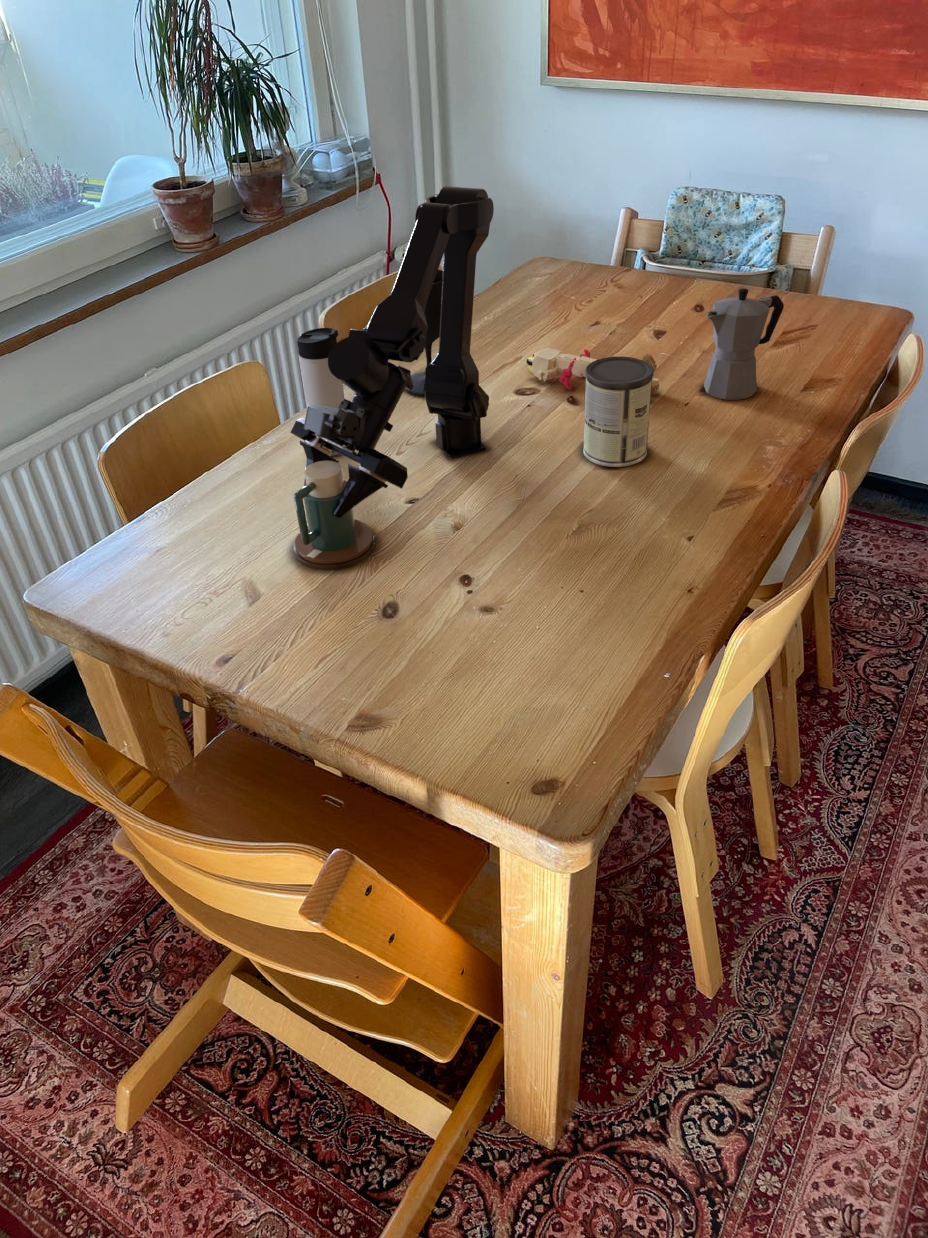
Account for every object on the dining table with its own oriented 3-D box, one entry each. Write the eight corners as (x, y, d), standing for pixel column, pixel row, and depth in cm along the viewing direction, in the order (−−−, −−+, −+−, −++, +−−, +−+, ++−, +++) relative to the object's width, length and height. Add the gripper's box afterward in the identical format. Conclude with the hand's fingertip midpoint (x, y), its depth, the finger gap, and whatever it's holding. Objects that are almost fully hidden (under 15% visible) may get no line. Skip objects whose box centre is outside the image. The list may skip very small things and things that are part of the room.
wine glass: (466, 375, 178) (461, 268, 165) (447, 399, 170) (440, 288, 158) (415, 370, 180) (406, 264, 168) (394, 393, 173) (383, 284, 160)
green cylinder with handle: (327, 514, 139) (316, 443, 132) (388, 532, 134) (380, 460, 127) (276, 553, 131) (261, 480, 124) (339, 574, 126) (327, 500, 119)
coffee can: (594, 433, 157) (597, 352, 148) (654, 443, 153) (661, 360, 145) (573, 461, 150) (575, 377, 141) (636, 472, 146) (642, 387, 137)
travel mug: (345, 457, 154) (330, 339, 142) (307, 455, 155) (289, 337, 143) (357, 440, 159) (343, 324, 147) (320, 437, 160) (303, 322, 148)
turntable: (360, 517, 139) (359, 513, 139) (387, 556, 131) (387, 551, 130) (284, 537, 136) (283, 533, 135) (307, 579, 127) (306, 574, 127)
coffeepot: (713, 407, 162) (727, 304, 151) (683, 387, 169) (693, 287, 158) (787, 389, 167) (805, 287, 156) (754, 370, 174) (769, 271, 162)
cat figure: (661, 393, 170) (539, 359, 180) (669, 347, 165) (542, 315, 174) (640, 415, 164) (514, 379, 173) (647, 368, 158) (517, 333, 168)
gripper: (290, 361, 126) (238, 465, 127) (382, 399, 115) (325, 512, 116) (342, 396, 135) (293, 493, 136) (432, 434, 125) (379, 539, 125)
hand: (320, 508), depth 128 cm, fingers closed on green cylinder with handle, 6 cm apart
